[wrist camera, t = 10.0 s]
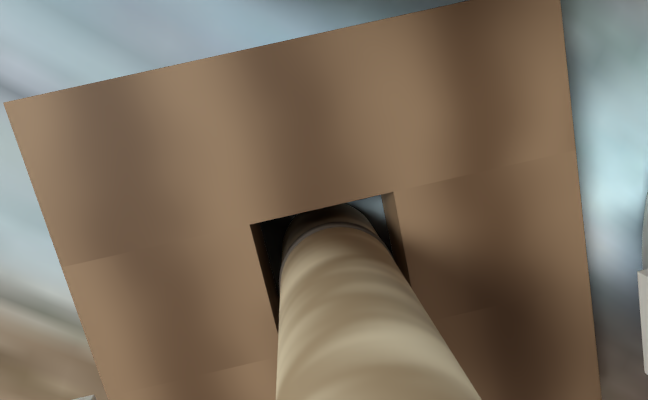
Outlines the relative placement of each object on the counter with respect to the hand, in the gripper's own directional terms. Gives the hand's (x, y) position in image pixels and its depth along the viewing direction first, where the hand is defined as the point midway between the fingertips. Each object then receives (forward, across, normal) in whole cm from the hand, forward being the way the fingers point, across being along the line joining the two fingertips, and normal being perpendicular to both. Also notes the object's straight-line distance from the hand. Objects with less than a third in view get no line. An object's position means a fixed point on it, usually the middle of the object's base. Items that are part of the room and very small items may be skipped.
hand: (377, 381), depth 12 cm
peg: (+11, 0, 0) cm, 11 cm away
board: (+11, 0, 0) cm, 11 cm away
